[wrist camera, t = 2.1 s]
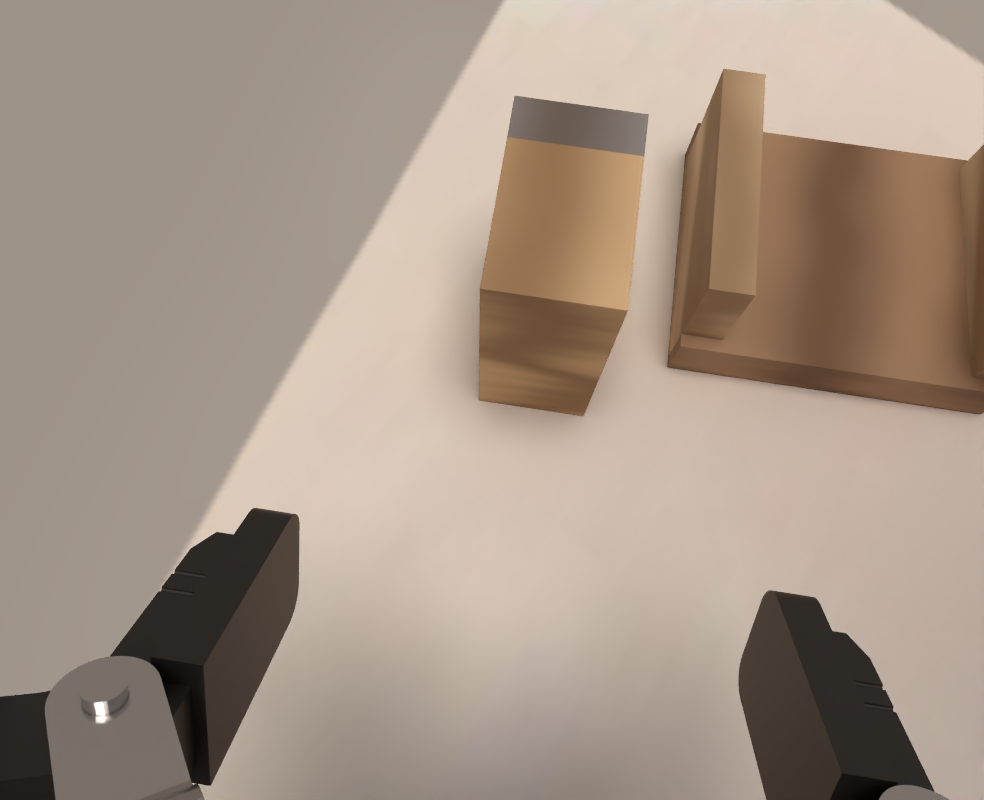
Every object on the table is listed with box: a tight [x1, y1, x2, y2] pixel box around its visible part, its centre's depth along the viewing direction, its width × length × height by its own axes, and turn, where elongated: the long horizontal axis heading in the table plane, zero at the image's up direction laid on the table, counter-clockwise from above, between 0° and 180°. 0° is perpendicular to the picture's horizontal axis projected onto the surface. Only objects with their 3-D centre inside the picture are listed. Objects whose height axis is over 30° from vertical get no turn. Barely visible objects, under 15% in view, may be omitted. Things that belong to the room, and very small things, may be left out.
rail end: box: [479, 96, 649, 416], centre depth 26 cm, size 4×6×9 cm, turn 171°
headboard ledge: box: [668, 69, 984, 414], centre depth 28 cm, size 12×10×6 cm
